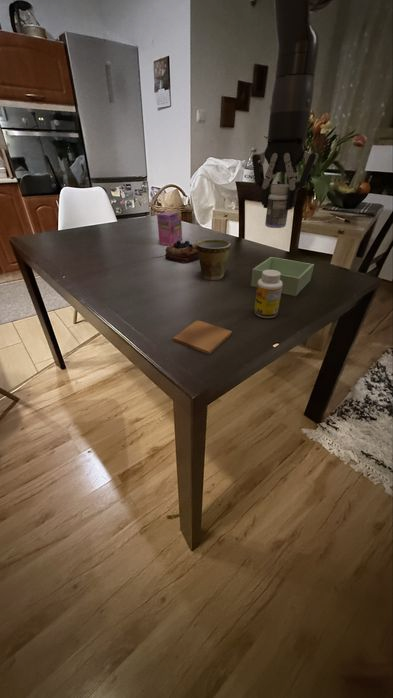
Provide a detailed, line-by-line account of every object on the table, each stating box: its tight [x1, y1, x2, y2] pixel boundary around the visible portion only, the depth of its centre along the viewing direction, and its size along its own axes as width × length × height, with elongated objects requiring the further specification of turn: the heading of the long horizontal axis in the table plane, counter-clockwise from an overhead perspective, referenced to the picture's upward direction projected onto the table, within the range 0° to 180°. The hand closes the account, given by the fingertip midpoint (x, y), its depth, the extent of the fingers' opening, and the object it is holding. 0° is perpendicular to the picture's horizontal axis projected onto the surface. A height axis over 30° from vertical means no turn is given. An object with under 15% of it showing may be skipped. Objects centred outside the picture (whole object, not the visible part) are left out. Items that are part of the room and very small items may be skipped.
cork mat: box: [172, 319, 233, 356], centre depth 59 cm, size 9×9×1 cm
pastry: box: [164, 240, 199, 264], centre depth 102 cm, size 11×12×6 cm
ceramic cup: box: [195, 238, 231, 281], centre depth 87 cm, size 13×10×10 cm
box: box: [156, 209, 183, 247], centre depth 118 cm, size 10×6×12 cm, turn 155°
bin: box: [250, 256, 315, 297], centre depth 81 cm, size 13×13×5 cm
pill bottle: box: [264, 183, 290, 229], centre depth 64 cm, size 5×5×8 cm
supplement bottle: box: [253, 270, 283, 319], centre depth 65 cm, size 6×6×10 cm
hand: (277, 208), depth 64 cm, fingers closed on pill bottle, 4 cm apart
